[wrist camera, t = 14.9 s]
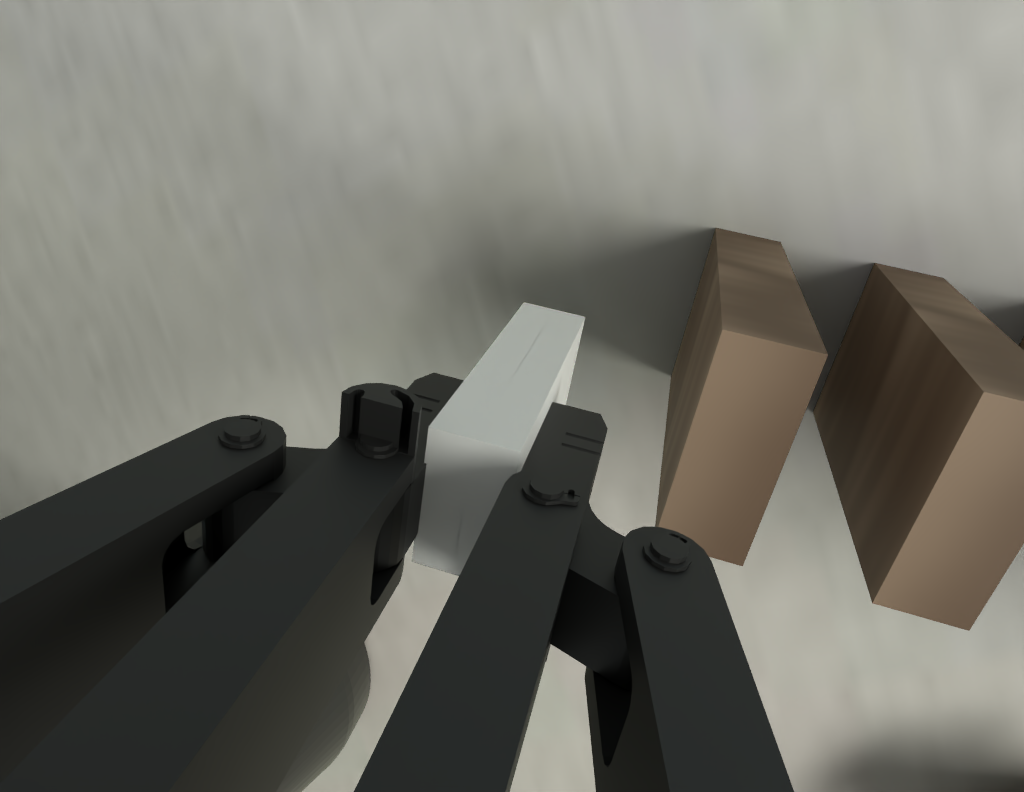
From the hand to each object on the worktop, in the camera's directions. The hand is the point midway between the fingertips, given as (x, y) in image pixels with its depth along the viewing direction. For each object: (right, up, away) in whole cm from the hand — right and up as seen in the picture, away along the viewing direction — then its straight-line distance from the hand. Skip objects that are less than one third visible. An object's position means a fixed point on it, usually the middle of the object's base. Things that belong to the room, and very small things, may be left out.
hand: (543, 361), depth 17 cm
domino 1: (+6, +2, +6) cm, 9 cm away
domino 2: (+11, +1, +5) cm, 12 cm away
